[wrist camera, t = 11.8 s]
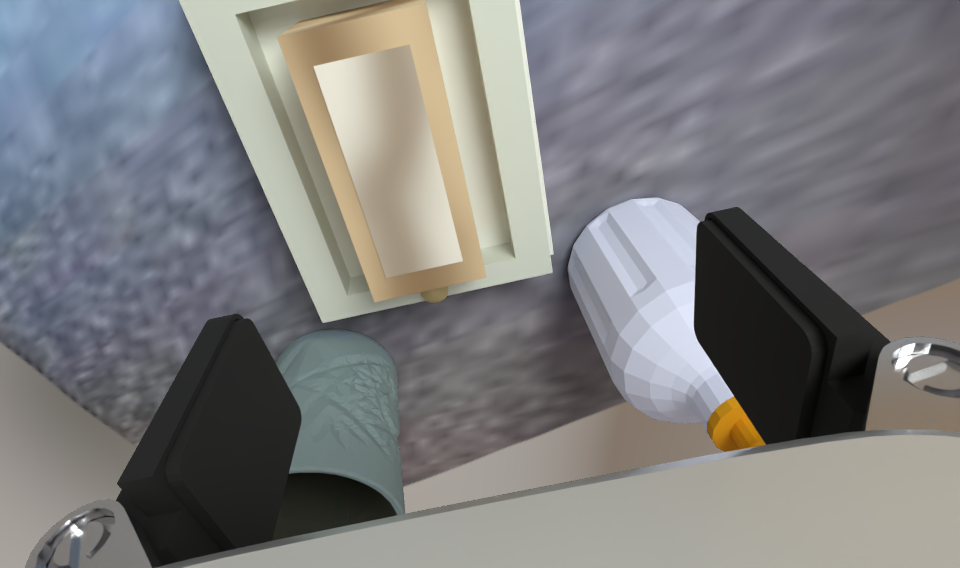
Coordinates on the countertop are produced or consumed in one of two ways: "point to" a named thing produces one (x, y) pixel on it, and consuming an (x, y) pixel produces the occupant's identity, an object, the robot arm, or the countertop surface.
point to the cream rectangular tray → (300, 170)
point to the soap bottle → (653, 317)
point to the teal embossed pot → (341, 433)
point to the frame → (387, 143)
